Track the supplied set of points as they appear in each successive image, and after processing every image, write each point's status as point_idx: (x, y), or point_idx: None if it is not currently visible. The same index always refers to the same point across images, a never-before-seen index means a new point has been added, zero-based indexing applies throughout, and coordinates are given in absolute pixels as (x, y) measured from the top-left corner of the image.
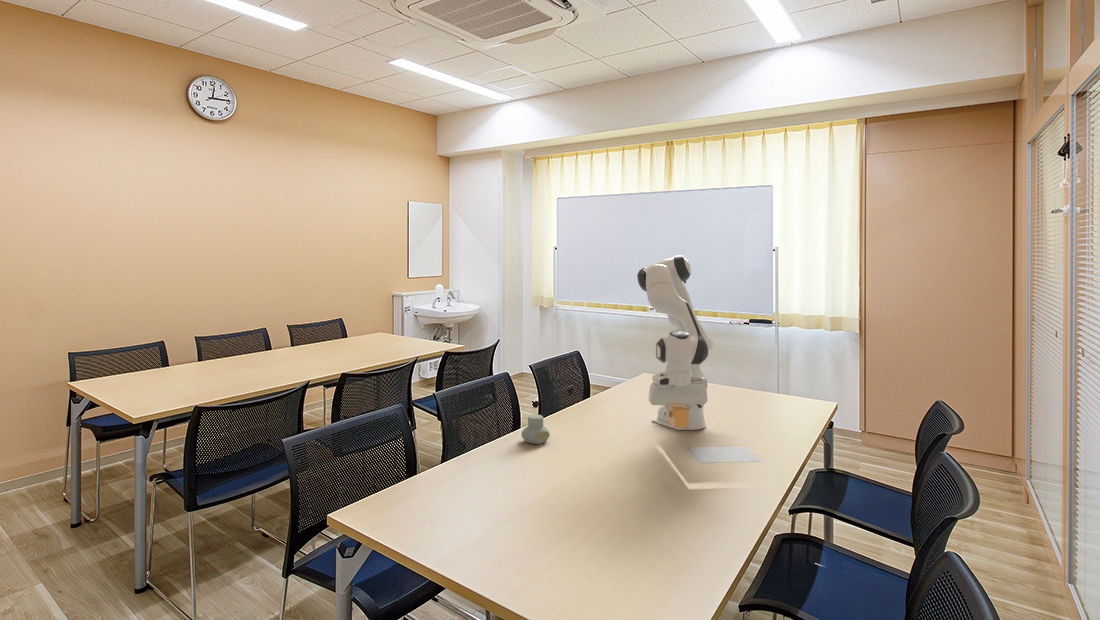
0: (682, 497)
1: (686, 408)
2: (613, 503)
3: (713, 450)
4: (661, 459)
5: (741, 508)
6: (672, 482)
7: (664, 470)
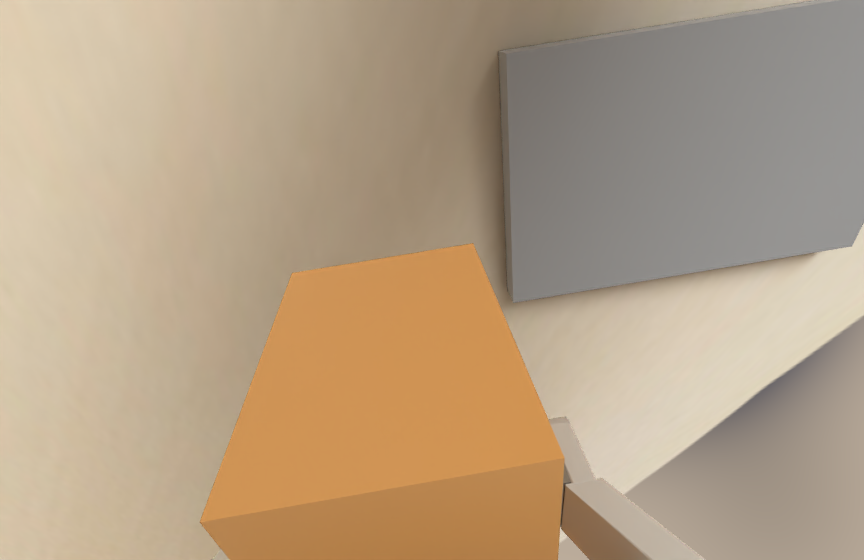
0: None
1: (600, 519)
2: (170, 549)
3: (684, 102)
4: (305, 216)
5: None
6: None
7: None
